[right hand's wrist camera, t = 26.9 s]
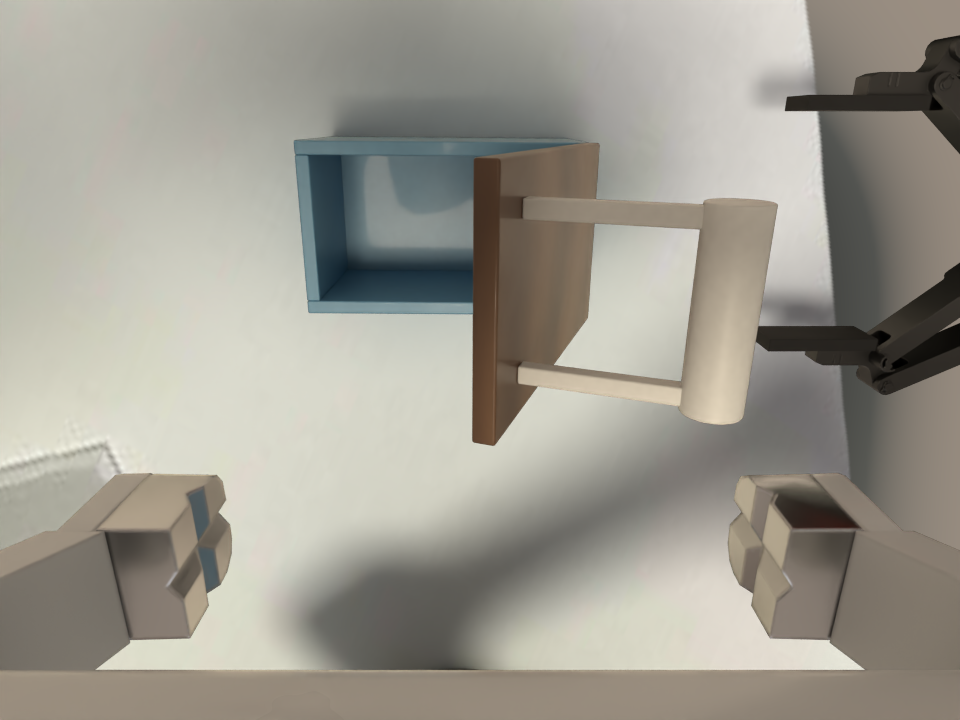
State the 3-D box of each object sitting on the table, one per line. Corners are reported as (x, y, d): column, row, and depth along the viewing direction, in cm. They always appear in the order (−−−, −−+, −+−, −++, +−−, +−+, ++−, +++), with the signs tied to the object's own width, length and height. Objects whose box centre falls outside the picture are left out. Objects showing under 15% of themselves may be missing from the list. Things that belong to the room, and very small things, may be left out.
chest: (340, 277, 46) (308, 313, 38) (330, 136, 43) (293, 140, 34) (560, 279, 46) (579, 315, 38) (568, 138, 43) (590, 142, 34)
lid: (471, 443, 23) (739, 490, 20) (472, 157, 19) (793, 166, 17) (573, 317, 37) (735, 333, 34) (583, 142, 34) (763, 146, 31)
